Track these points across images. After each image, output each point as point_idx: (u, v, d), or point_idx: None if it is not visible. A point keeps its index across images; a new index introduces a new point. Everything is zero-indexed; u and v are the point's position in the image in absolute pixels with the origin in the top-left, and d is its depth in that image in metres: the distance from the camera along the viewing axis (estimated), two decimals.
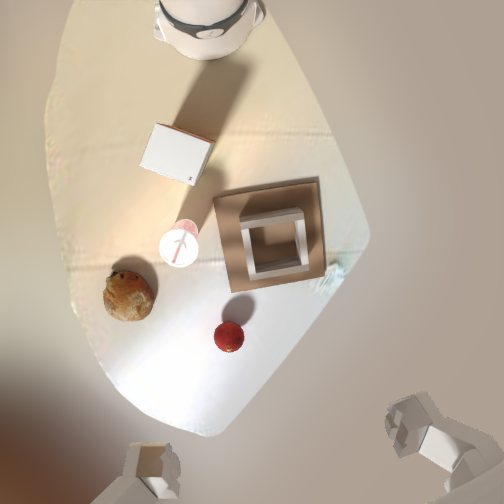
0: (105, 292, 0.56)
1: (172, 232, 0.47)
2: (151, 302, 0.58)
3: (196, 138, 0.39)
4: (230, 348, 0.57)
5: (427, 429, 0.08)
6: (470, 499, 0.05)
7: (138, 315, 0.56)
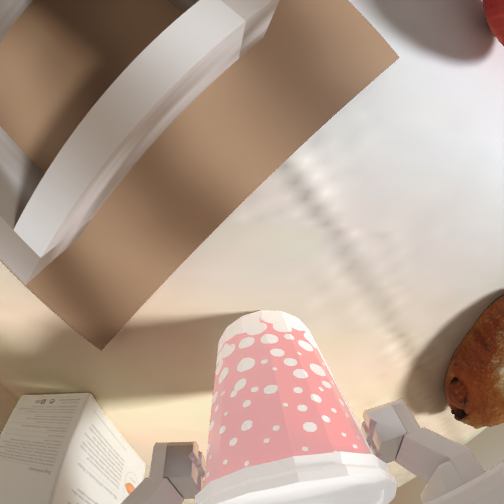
0: None
1: None
2: None
3: None
4: None
5: (402, 439, 0.08)
6: (470, 499, 0.05)
7: None
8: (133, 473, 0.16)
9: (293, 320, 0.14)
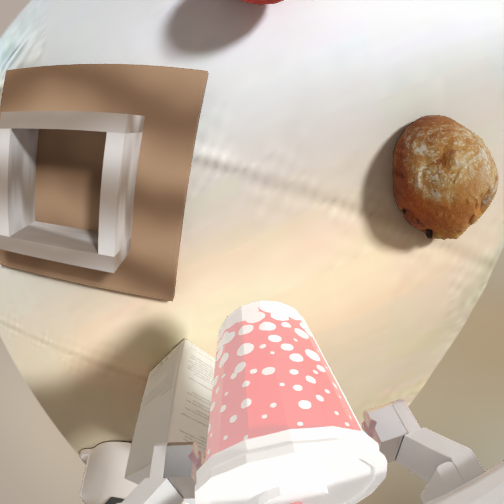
0: (476, 220, 0.22)
1: None
2: (409, 143, 0.21)
3: None
4: None
5: (402, 439, 0.08)
6: (470, 499, 0.05)
7: (455, 143, 0.18)
8: None
9: (290, 310, 0.15)
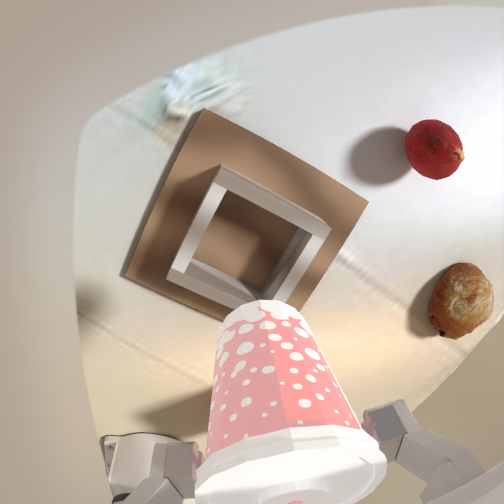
0: None
1: None
2: (453, 281, 0.33)
3: None
4: (456, 153, 0.22)
5: (402, 439, 0.08)
6: (470, 499, 0.05)
7: (478, 290, 0.31)
8: None
9: (290, 309, 0.15)
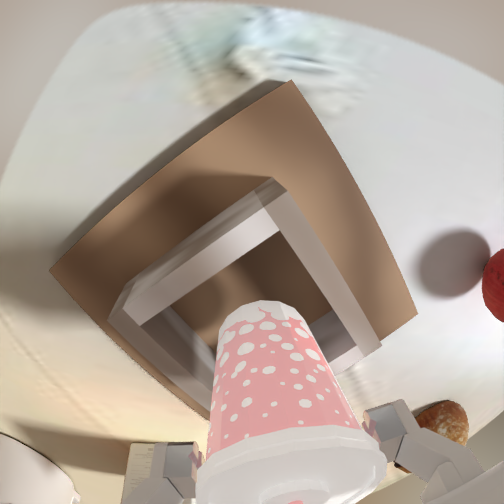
0: None
1: None
2: (439, 421, 0.25)
3: None
4: None
5: (402, 439, 0.08)
6: (470, 499, 0.05)
7: (459, 438, 0.24)
8: None
9: (290, 310, 0.15)
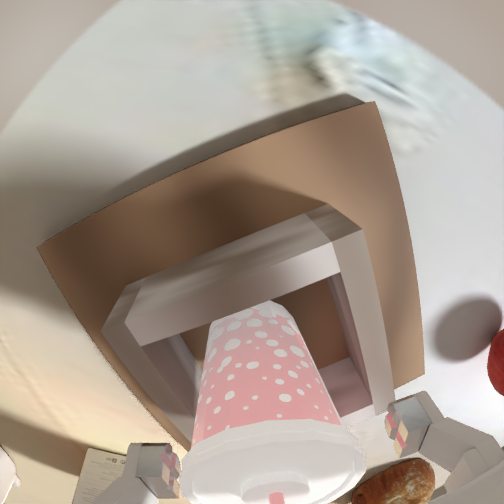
0: None
1: None
2: (408, 478, 0.23)
3: None
4: None
5: (427, 429, 0.08)
6: (470, 499, 0.05)
7: (424, 497, 0.22)
8: None
9: (278, 308, 0.15)
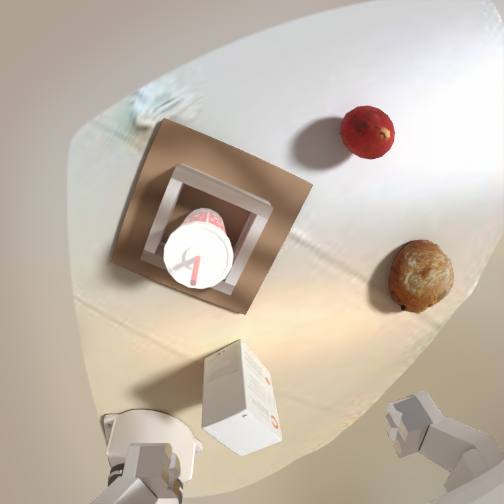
0: None
1: (202, 284, 0.29)
2: (407, 257, 0.38)
3: (212, 436, 0.32)
4: (382, 133, 0.27)
5: (427, 429, 0.08)
6: (470, 499, 0.05)
7: (432, 264, 0.36)
8: (266, 374, 0.43)
9: (198, 209, 0.35)
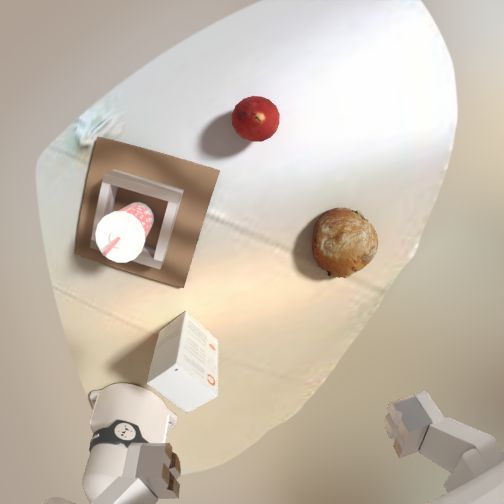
0: (360, 268, 0.46)
1: (125, 259, 0.36)
2: (321, 225, 0.44)
3: (157, 391, 0.39)
4: (256, 117, 0.34)
5: (427, 429, 0.08)
6: (470, 499, 0.05)
7: (345, 228, 0.42)
8: (212, 341, 0.50)
9: (131, 204, 0.42)
